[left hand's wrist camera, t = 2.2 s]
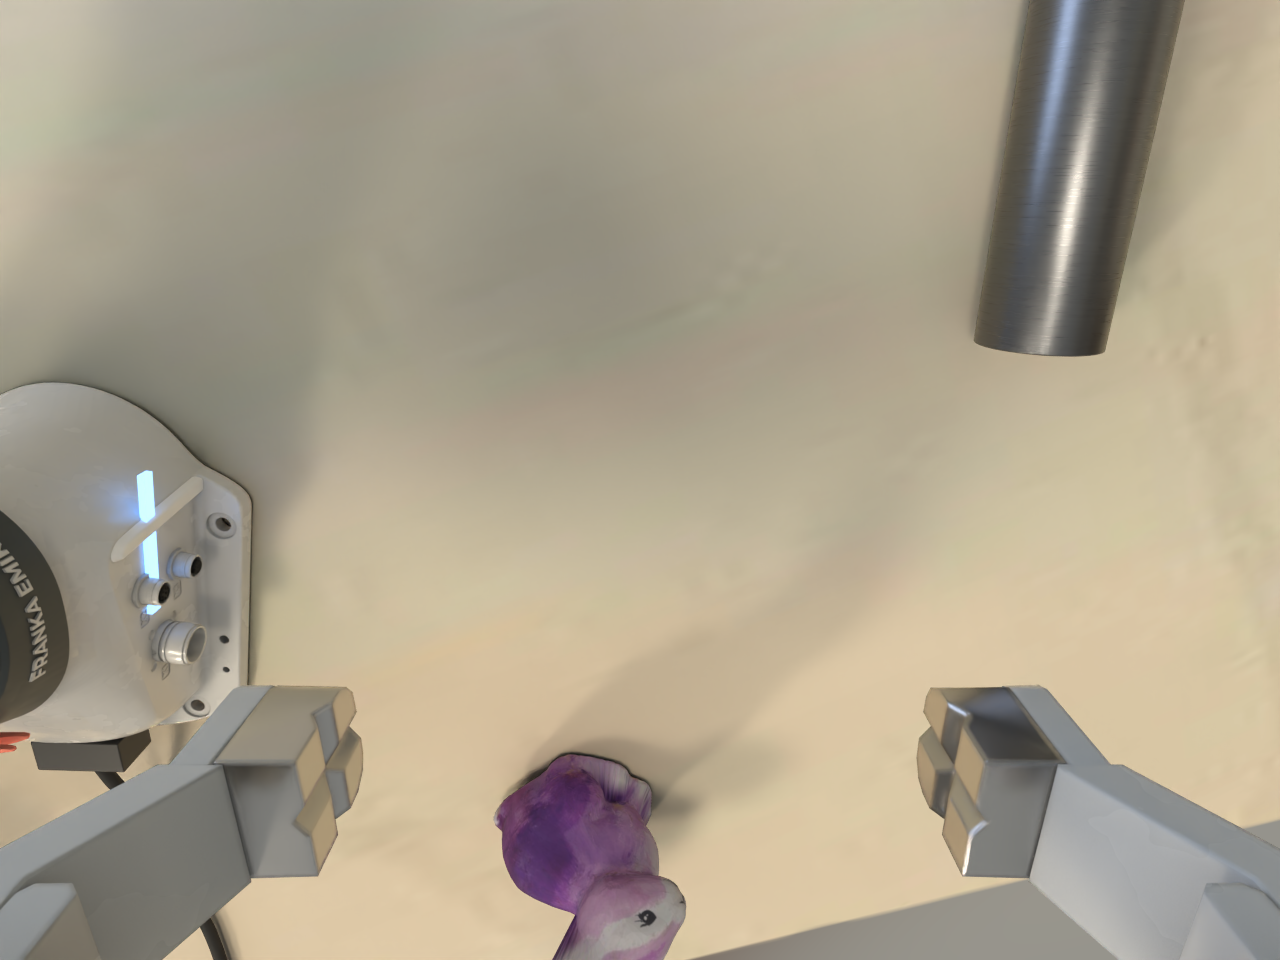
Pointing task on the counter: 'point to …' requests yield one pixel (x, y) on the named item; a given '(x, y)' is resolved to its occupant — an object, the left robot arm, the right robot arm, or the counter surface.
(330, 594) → the counter surface
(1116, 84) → the rod
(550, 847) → the figurine
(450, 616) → the counter surface
